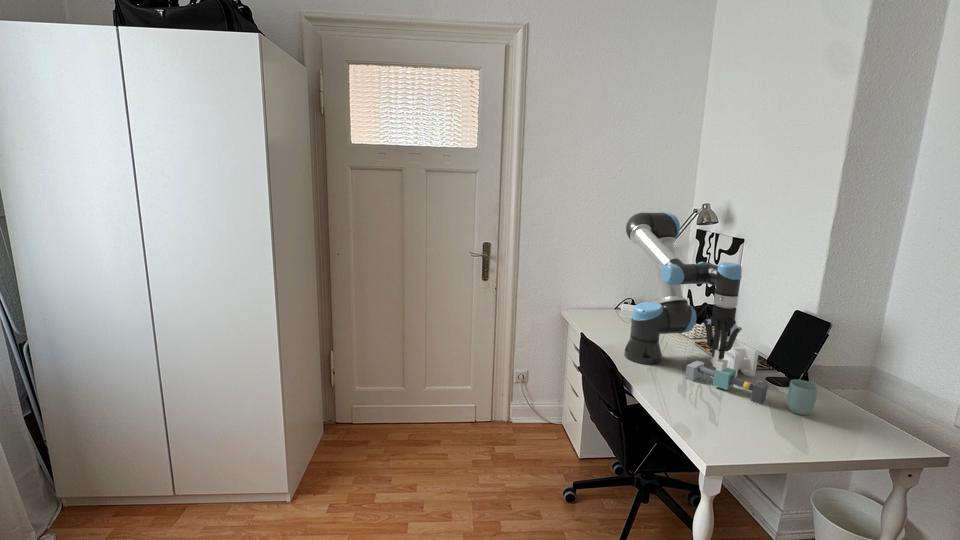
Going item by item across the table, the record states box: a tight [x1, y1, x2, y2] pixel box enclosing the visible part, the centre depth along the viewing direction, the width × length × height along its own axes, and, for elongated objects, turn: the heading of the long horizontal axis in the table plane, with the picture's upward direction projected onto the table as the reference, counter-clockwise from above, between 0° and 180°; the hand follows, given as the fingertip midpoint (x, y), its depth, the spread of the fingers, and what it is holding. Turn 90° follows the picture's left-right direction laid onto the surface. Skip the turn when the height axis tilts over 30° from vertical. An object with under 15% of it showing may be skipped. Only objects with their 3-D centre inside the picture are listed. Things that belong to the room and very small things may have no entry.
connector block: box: [750, 380, 769, 405], centre depth 160 cm, size 3×5×6 cm, turn 129°
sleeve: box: [712, 359, 736, 391], centre depth 168 cm, size 5×6×9 cm
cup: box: [786, 378, 819, 416], centre depth 152 cm, size 8×8×10 cm
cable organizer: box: [710, 339, 759, 378], centre depth 182 cm, size 15×11×12 cm
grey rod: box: [697, 366, 755, 392], centre depth 169 cm, size 21×3×3 cm, turn 39°
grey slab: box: [684, 360, 705, 382], centre depth 177 cm, size 3×8×5 cm, turn 129°
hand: (716, 366), depth 170 cm, fingers closed
